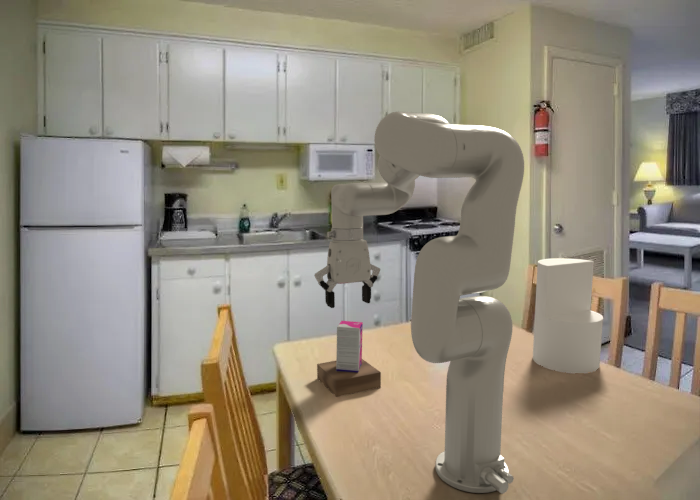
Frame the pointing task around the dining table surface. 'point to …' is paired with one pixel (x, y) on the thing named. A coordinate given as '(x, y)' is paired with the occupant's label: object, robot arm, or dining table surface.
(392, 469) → the dining table surface
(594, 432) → the dining table surface
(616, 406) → the dining table surface
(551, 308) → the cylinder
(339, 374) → the walnut riser block
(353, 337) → the supplement box
